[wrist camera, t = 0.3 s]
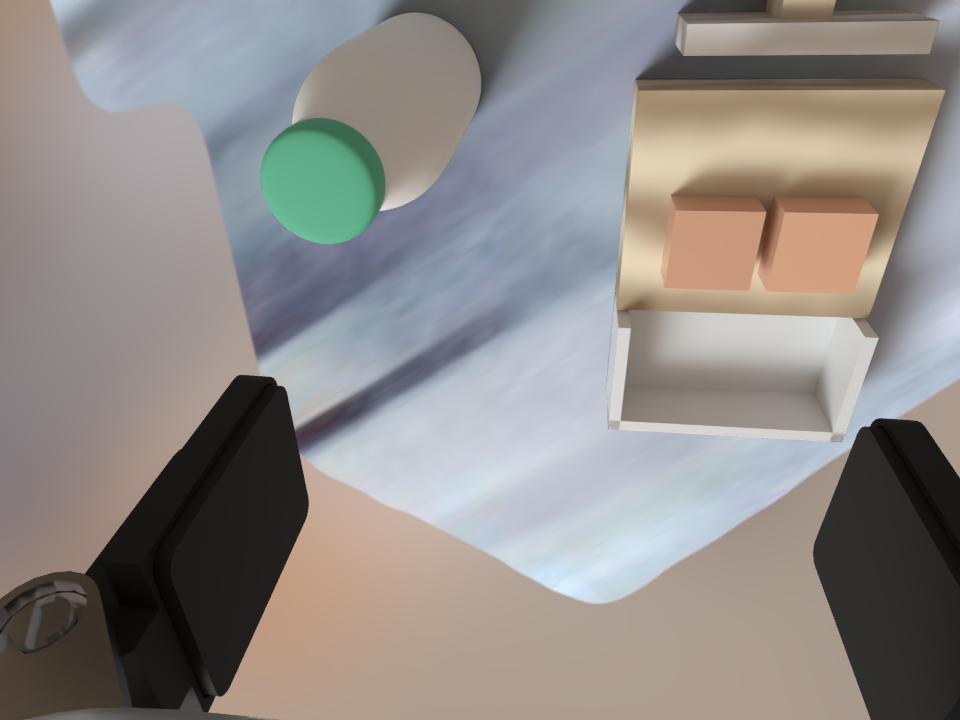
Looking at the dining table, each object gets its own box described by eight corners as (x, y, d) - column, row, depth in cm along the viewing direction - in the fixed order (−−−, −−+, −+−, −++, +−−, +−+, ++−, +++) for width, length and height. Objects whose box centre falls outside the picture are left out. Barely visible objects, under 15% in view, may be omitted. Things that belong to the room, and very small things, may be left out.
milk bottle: (386, -15, 39) (243, 37, 22) (504, 50, 40) (452, 146, 23) (343, 108, 43) (196, 229, 26) (451, 164, 44) (375, 313, 28)
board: (635, 79, 40) (638, 90, 37) (921, 78, 38) (945, 89, 36) (615, 288, 48) (617, 309, 45) (852, 296, 46) (868, 318, 43)
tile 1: (774, 196, 40) (784, 212, 38) (863, 198, 39) (878, 214, 37) (757, 272, 43) (766, 291, 40) (840, 275, 42) (853, 294, 40)
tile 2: (670, 195, 40) (675, 210, 38) (756, 196, 40) (766, 212, 38) (660, 270, 43) (664, 288, 41) (741, 272, 43) (749, 290, 41)
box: (615, 292, 48) (618, 327, 44) (851, 299, 46) (878, 337, 42) (605, 388, 52) (608, 429, 48) (820, 399, 51) (841, 442, 46)
